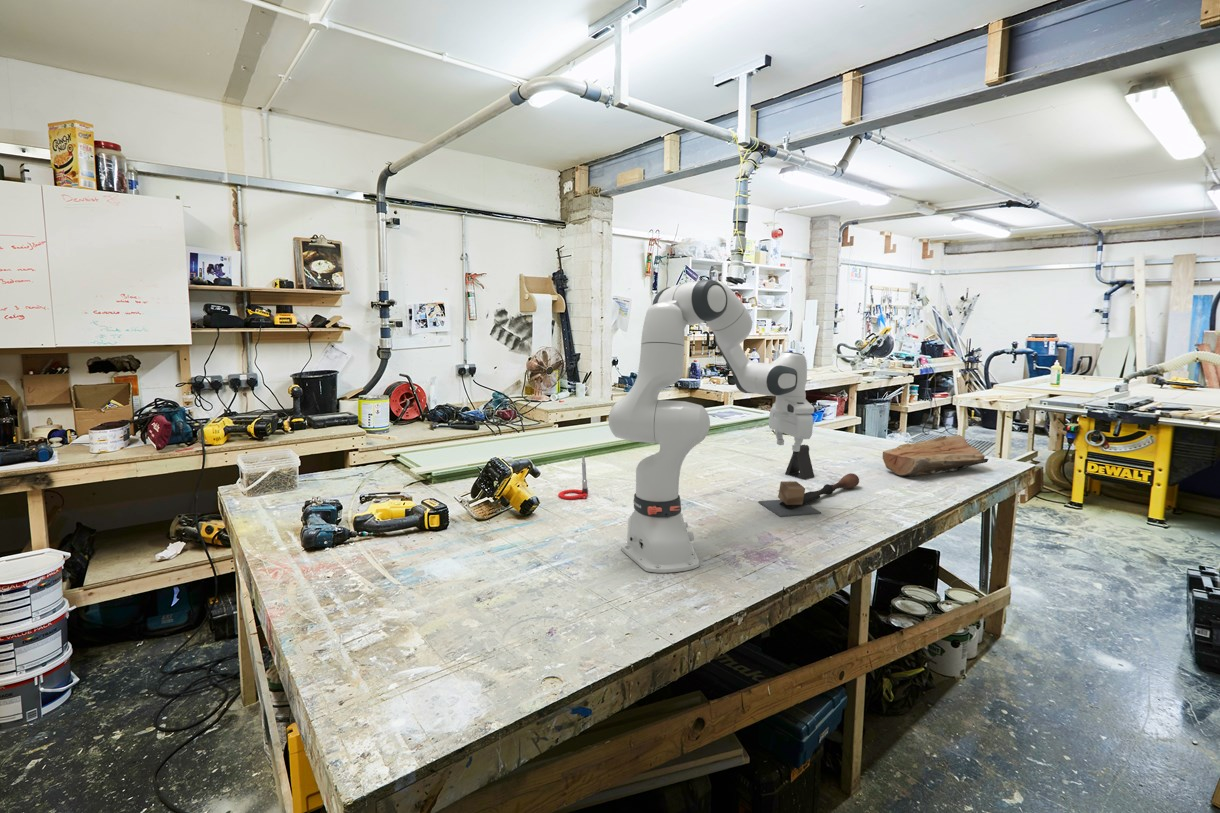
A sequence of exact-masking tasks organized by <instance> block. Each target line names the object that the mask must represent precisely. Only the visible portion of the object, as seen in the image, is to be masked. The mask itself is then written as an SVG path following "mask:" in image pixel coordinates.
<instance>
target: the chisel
mask: <svg viewBox="0 0 1220 813" xmlns="http://www.w3.org/2000/svg"><path fill="white" fill-rule="evenodd" d="M859 483H860V477H859V476H858V475H857V474H855V473H852V472H851V473H847V474H845V475H844V476H843V477H841V478H840V480H839V481H837V482H836V483H835V484H827V483H826V484H824V485H823V487H822V488H820V489H818V490H814V491H808V492H805V493H804V499H803V504H802V505H804V504H809V503H812V502H814V501H817V500H819V499H821V496H822V495H829V496H830V495H832V494H833V493H834V491H836V490H837V489H852V488H856V487H857V486H859ZM779 505H781V506H784V507H786V508H789V509H794V508H796V507H799V506H802V505H786V504H785V503H784V502H781V503H780V504H779Z"/></svg>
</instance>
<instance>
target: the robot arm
mask: <svg viewBox="0 0 1220 813" xmlns="http://www.w3.org/2000/svg"><path fill="white" fill-rule="evenodd" d="M752 319H753V318H752V317H751V314H750V312H749V311H748V309H747V308H746V306H745V305H744V303H743V302H742V300H740V298H739V297H738V296H737V294H736V293H735V292H734V291H733V290H732V289H731V288H730V287H729V286H728V284H727V285H726V283H724V282H723V281H719V280H714V279H701V280H699V281H690V282H682V283H679V284H676V285H675V284H674V285H673V286H668V287H665V288H663V289H661V290H660V291H659V292H657V294H656V295H655V296H654V298H653V300H652V303H651V306H649V307H648V309H647V310H646V313H645V317H644V320H643V321H644V322H643V325H642V332H641V341H640V342H641V343H640V355H639V356H640V357H639V363H638V364H639V366H638V372H637V376H636V378H635V380H634V383H633V385H632V386H631V388H630V389H629V391H628V392H627V394H626V395H624V396H623V397H621V399H619V400H618V401H616V402H615V403H614V404H613V406H612V408H610V410H609V413H608V427H609V429H610V432H611V434H613V435H614V437H615V438H618V439H622V440H625V441H629V442H633V443H634V442H636V443H638V442H639V443H648V444H649V443H650V444H658V445H659V451H657V452H656V453H654V454H651V455H649V456H647V457H644V458H643V459H641V460H640V461H639V462H638V463H637V466H636V469H635V493H634V495H633V509H634V510H633V512H632V514H631V515H630V516H629V517H628V520H627V531H626V532H627V533H626V542H625V543H622V544H621V546H620V550H621V551H622V553H624V554H625V555H626V556H628V557H629V558H630V559H631V560H632V561H633V562H635V564H637V565H638V566H639V567H640V568H642V569H643V570H644V571H646V572H648V573H657V574H658V573H659V574H661V573H664V574H665V573H666V574H667V573H677V572H684V571H685V572H686V571H691V570H693V569H694V570H695V569H697V568H698V567H700V560H699V558H698V556H697V553H696V551H695V549H694V547H693V544H692V542H693V541H694V539H695V536H694V535H695V534H694V532H693V531H688V529H687V528H688V526H689V523H688V521H685V519H684V517H683V513H682V501H681V496H680V494H679V492H680V491H679V490H680V488H679V487H680V486H679V485H680V476H681V469H682V465H683V462H684V460H685V458H686V456H687V455H688V454H689V452H690V451H691V450H692V449H694V448H695V447H696V446H697V445H700V443H701V442H703V441H704V440H705V439H706V438H707V436H708V434H709V432H710V427H711V420H710V415H709V413H708V411H707V410H706V408H705V406H703V405H702V404H697V403H693V402H689V401H684V400H682V401H681V400H662V399H658V398H659V395H660V393H661V391H663V390H664V389H666V388H668V387H670V386H672V385H674V384H676V383H678V382H679V381H680V379H681V378H682V377H683V374H684V359H685V343H686V342H685V339H686V338H685V337H686V336H685V329H686V326H687V325H688V326H693V325H699V324H702V323H706V324H707V325H708V328H709V329H710V330H711V332H712V333H713V335H714V341H715V344H716V347H717V348H718V350H719V352H720V354H721V356H722V358H723V359H724V361H725V363H726V365H727V366H728V368H729V370H730V372H731V374H732V376H733V377H732V378H733V381H734V384H735V387H736V388H737V389H738V391H740V392H741V393H743V394H755V395H757V394H758V395H764V396H771V397H775V401H774V403H772V406H771V408H770V411H769V415H768V416H769V417H768V427H769V429H771V430H774V434H775V438H776V444H777V445H778V446H784V444H785V439H784V437H783V434H785V435H787V436H790V437H793V438H794V439H793V441H794V444H792V445H791V446H792V448H791V450H792V452H793V451H795V452H799V451H800V446H801V445H803V444H802V443H803V442H804V440H809V439H811V437H812V435H813V429H814V428H813V426H814V416H813V414H814V413H815V407H814V406H813V404H811V403H810V402H809V401H808V400H807V399H806V397H807V395H806V394H807V392H806V384H807V380H808V366H807V358H806V356H805V355H804V354H802V353H800V352H794V351H782V352H780V354H779V356H778V357H777V358H776V359H774V360H773V361H771V362H770V363H769V362H759V361H754V360H751V359H749V358H748V357H747V355H746V353H745V351H744V350H743V347H742V346H741V344H742V343H743V342H744V341H745V340H746V339H748V336H749V335H750V333H751V332H752V328H753V320H752Z"/></svg>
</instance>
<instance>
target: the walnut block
mask: <svg viewBox="0 0 1220 813" xmlns="http://www.w3.org/2000/svg"><path fill="white" fill-rule="evenodd" d="M804 493H806V487H804V486H803V485H801V483H799V482H798V481H795V480H793V481H792V480H791V481H785V480H783V481H781V480H780V484H779V489H778V495H777V498H778V500H782V501H783V502H784V503H785V504H786V505H802V504H803V499H804Z"/></svg>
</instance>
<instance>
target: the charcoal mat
mask: <svg viewBox="0 0 1220 813" xmlns="http://www.w3.org/2000/svg"><path fill="white" fill-rule="evenodd" d="M781 502H783V501H782V500H780V499H771V500H758V501H757V503H759V504H760V505H761V506H763V507H764V508H766V509H767V510H769V511H770V512H772V513H774V514H775V515H777V516H778V517H780V518H784V517H785V518H786V517H796V516H797V517H798V516H808V515H809V516H811V515H821V514H822V511H821V510H818V508H815V507H813V506H811V505H810V504H809V503H807V504H804V505H802V506H799V507H796V508H794V509H789V508H786V507H784V506H781V505H779V504H780V503H781Z"/></svg>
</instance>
